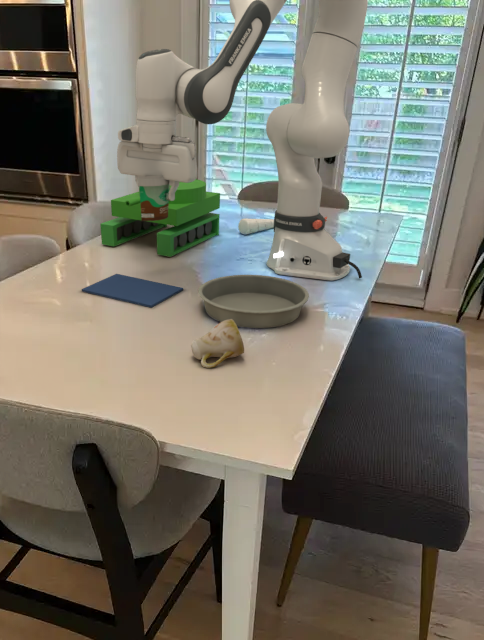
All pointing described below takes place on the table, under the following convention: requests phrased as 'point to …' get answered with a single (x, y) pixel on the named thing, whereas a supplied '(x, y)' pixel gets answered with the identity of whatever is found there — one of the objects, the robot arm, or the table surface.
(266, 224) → the unicorn horn
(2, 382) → the table surface
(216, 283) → the cake pan
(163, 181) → the food container
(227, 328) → the mug
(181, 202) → the tank
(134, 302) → the mat
